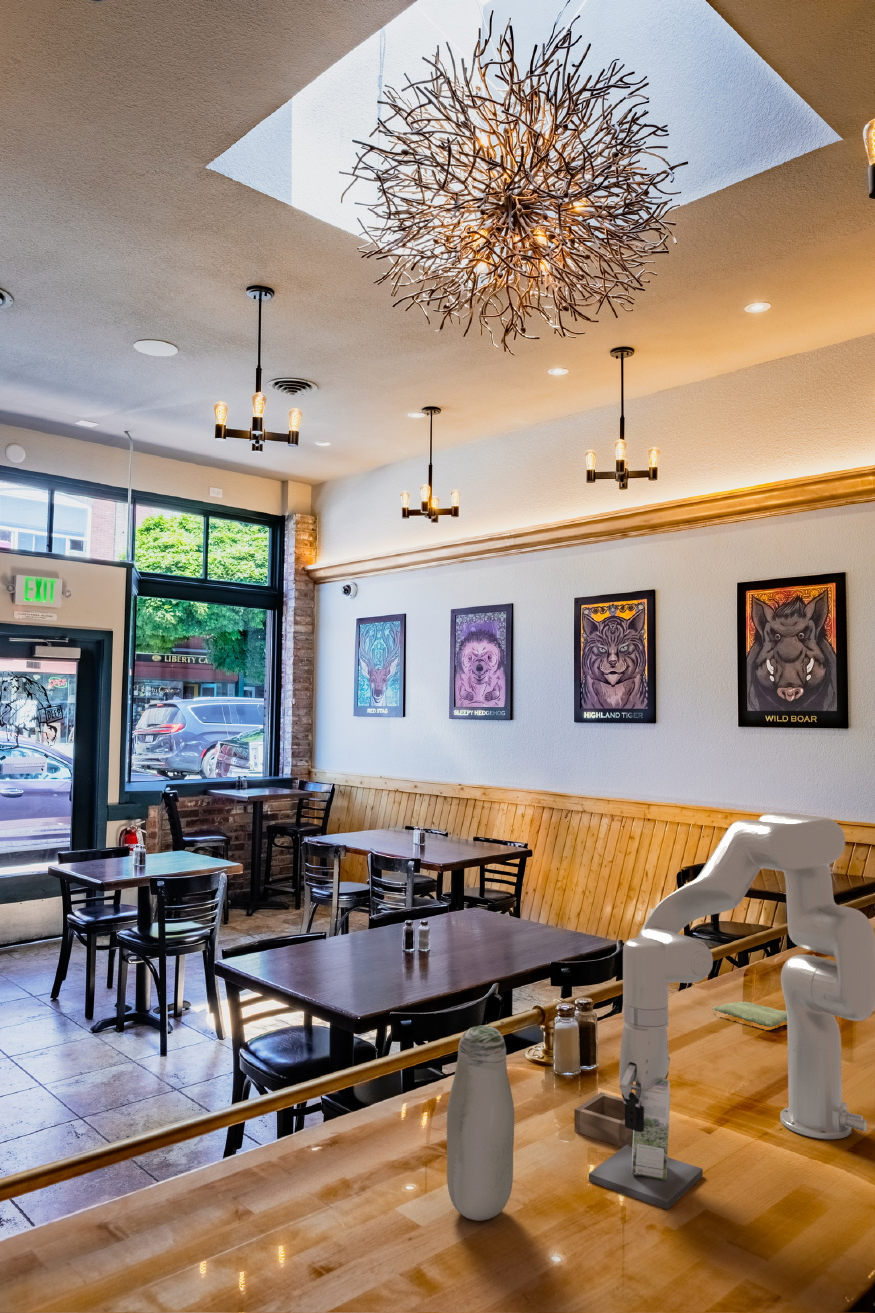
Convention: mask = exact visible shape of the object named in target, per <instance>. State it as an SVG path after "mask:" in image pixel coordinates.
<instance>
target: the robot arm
mask: <svg viewBox="0 0 875 1313" xmlns="http://www.w3.org/2000/svg"><path fill="white" fill-rule="evenodd" d="M845 846H846V837H845V832H844V830H843V829H842V827H841V826H840V824H838V823H837V822H836V821H835V820H833V819H832V818H827V817H824V816H822V817H821V816H812V815H806V814H797V813H791V812H790V813H789V812H768V813H765V814H762V815H760V817H759V818H758V820H755V819H740V820H736V821H734V822H733V823H732V824H730V825H729V826H728V828H727V830H726V831H725V832H724V834H723V836H722V837H721V839H720V841H719V842H718V844H717V846H715V849H714V850H713V851H712V853H711V855H710V857H709V858H708V859H707V861H706V862H705V864H704V866H703V868H702V869H701V871H700V873H699V874H698V875H697V877H696V878H694V879H693V880H692V881H689V882H688V883H686V884H684V885H682V886H681V887H679V888H678V889H676V890H675V891H673V892H672V893H671V894H669V895H668V896H667V897H665V898H663V899H662V900H661V901H660V902H659V903H658V904H657V905H656V906H655V907H654V908H653V909H652V911H651V913H650V914H649V916H648V917H647V918H646V920H645V922H644V924H643V925H642V927H641V928H640V931H639V933H638V935H637V937H634V938H633V937H632V938H630V939H627V940H626V941H625V943H624V945H623V948H622V989H623V990H622V1009H623V1010H622V1012H623V1013H622V1014H623V1015H622V1017H623V1018H622V1020H623V1021H622V1022H623V1025H622V1026H623V1027H622V1031H621V1040H620V1048H619V1049H620V1051H619V1052H620V1053H619V1069H618V1070H619V1072H618V1073H619V1076H618V1077H619V1080H618V1081H619V1084H620V1085H619V1088H620V1091H621V1098H623V1102H624V1104H625V1127H626V1128H629V1129H632V1130H635V1131H638V1132H642V1131H644V1106H641V1105H642V1101H643V1096H644V1092H645V1091H646V1090H648V1089H649V1088H651V1087H652V1086H654V1085H655V1084H657V1083H658V1082H660V1081H661V1080H662V1079H667V1080H668V1076H669V1066H670V1062H671V1056H670V1055H669V1054H670V1053H669V1039H668V1038H669V1037H668V1028H669V984H670V983H683V984H693V983H698V982H700V981H702V980H704V979H706V978H707V977H708V975H709V974H711V971H712V969H713V963H714V958H713V954H712V951H711V950H710V948H709V947H708V946H707V945H706V944H705V943H704V941H701V940H700V939H697V938H694V937H691V936H688V935H684V934H681V933H680V932H681V931H682V930H683V929H684V928H685V927H686V926H688V925H689V924H690V923H692V922H694V921H696V920H699V919H701V918H704V917H708V916H712V915H716V914H721V913H725V912H728V911H731V910H733V909H737V907H739V906H740V904H741V902H742V900H744V898H745V896H746V894H747V893H748V891H749V889H750V888H751V885H752V884H753V882H754V880H756V877H757V876H758V874H759V873H760V871H761V870H762V869H767V870H772V871H778V872H779V871H780V872H783V875H784V879H785V880H784V882H785V893H786V894H785V895H786V896H785V898H786V919H787V921H786V923H787V932H788V936H789V938H790V940H791V941H792V943H794V945H796V946H798V947H800V948H801V949H802V948H803V949H805V950H809V951H812V952H815V953H819V954H824V955H827V956H831V957H834V958H835V960H831V959H827V958H824V957H819V956H815V955H811V954H796V955H792V956H791V957H789V958H788V959H787V960H786V961H785V963H784V964H783V965H782V968H781V972H780V983H781V989H782V994H783V999H784V1003H785V1011H786V1012H787V1026H786V1027H787V1031H786V1032H787V1079H788V1080H787V1081H788V1082H787V1084H788V1085H787V1087H788V1090H787V1091H788V1107H785V1108H783V1109H782V1110H781V1111H780V1114H779V1115H780V1116H779V1118H780V1122H781V1123H782V1125H783V1126H784V1127H785V1128H787V1129H788V1130H790V1131H792V1132H794V1133H797V1134H799V1135H802V1136H805V1137H809V1138H815V1139H822V1140H837V1139H838V1140H839V1139H844V1138H846V1137H848V1136H849V1135H851V1134H852V1128H853V1129H855V1130H859V1131H862V1132H866V1131H867V1126H868V1125H867V1119H864V1117H863V1115H861V1114H856V1113H852V1112H850V1111H849V1110H847V1109H848V1108H847V1107H848V1106H847V1104H848V1103H846V1102H843V1095H842V1093H843V1090H842V1088H843V1087H842V1085H843V1084H842V1082H843V1080H842V1043H841V1042H842V1040H841V1039H842V1038H841V1031H840V1026H839V1023H838V1021H837V1018H836V1017H839V1018H842V1019H846V1020H849V1021H853V1022H854V1021H855V1022H861V1021H864V1020H867V1019H868V1018H869V1017H870V1016H872V1014H873V1012H874V1011H875V931H874V928H873V926H872V924H871V921H870V920H869V918H868V917H867V916H866V914H864V913H863V912H862V911H861V910H859V909H856V908H853V907H850V906H846V905H840V904H837V903H836V902H835V899H834V898H835V897H834V890H833V889H834V888H833V878H832V875H831V874H832V873H831V871H830V868H829V865H830V864H833V863H834V862H836V861H837V860H838V859H840V857H841V856H842V854H843V852H844V850H845ZM636 1082H637V1083H640V1084H641V1086H638V1085H636V1084H634V1083H636ZM635 1090H637V1091H638V1095H637V1097H636V1096H635V1092H632V1091H635Z"/></svg>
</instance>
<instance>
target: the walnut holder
mask: <svg viewBox="0 0 875 1313" xmlns="http://www.w3.org/2000/svg"><path fill="white" fill-rule="evenodd" d="M573 1111H574V1119H573V1120H574V1121H573V1123H574V1128H573V1129H574V1130H573V1131H574V1132H575V1133H579V1134H582V1135H584V1136H586V1137H587V1136H588V1137H590V1138H593V1139H597V1140H599V1141H603V1142H606V1143H609V1144H612V1145H614V1146H618V1147H621V1148H623V1147H624V1146H625V1145H626V1144H630V1145H631V1144H633V1130H632V1129H629V1128H626V1127H625V1104H624V1102H623V1097H619V1096H615V1095H611V1094H608V1093H605V1092H601V1091H600V1092H599V1093H597V1094H596V1095H594V1096H593V1097H591V1098H590V1099H588V1100H587V1101H585V1102H584V1103H582V1104H581V1105H579V1106H577V1107H576V1108H574V1110H573Z"/></svg>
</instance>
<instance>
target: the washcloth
mask: <svg viewBox="0 0 875 1313" xmlns="http://www.w3.org/2000/svg"><path fill="white" fill-rule="evenodd" d="M713 1010H715V1011H719V1012H721V1013H724V1014H728V1015H732V1016H733V1017H738V1018H741V1019H744V1020H746V1021H749V1022H754V1023H757V1024H759V1025H764V1026H767V1027H773V1026H776V1025H780V1023H782V1022H785V1021H787V1012H786V1010H779V1009H776V1008H773V1007H770V1006H769V1007H768V1006H765V1005H761V1004H756V1003H753V1002H750V1001H749V1002H748V1001H736V1002H727V1003H723V1004H722V1005H720V1006H719V1005H716V1006H712V1011H713Z"/></svg>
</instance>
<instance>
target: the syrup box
mask: <svg viewBox="0 0 875 1313" xmlns="http://www.w3.org/2000/svg"><path fill="white" fill-rule="evenodd" d="M635 1085H638V1086H641V1084H640V1083H637V1082H635ZM670 1086H671V1085H670V1079H668V1078H667V1079H662V1080H661V1081H660V1082H658V1083H657V1084H655V1085H654V1086H652V1087H651V1088H649V1089H648V1090H646V1091H645V1092H644V1096H643V1101H642V1105H641V1106H644V1131H642V1132H638V1131H635V1130H633V1142H632V1146H633V1150H632V1174H634V1175H639V1176H645V1177H651V1178H657V1179H662V1180H666V1177H667V1157H668V1152H669V1149H668V1147H669V1131H670V1130H669V1128H670V1110H671V1109H670V1108H671V1107H670V1105H671V1090H670V1088H671V1087H670ZM634 1091H635V1092H634V1094H635V1096H636V1097H637V1095H638V1091H637V1090H634Z"/></svg>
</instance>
